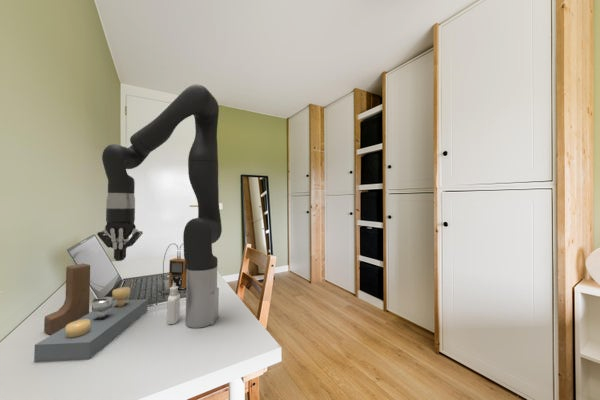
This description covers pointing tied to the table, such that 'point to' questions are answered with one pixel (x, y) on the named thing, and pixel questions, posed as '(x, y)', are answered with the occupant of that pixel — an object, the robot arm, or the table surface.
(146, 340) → the table surface
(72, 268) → the wooden block
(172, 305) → the eye dropper bottle
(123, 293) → the knob right
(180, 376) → the table surface
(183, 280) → the multimeter
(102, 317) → the dial middle
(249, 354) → the table surface
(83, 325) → the knob left
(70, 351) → the panel
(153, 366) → the table surface
